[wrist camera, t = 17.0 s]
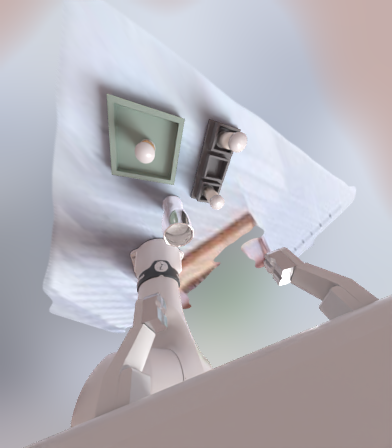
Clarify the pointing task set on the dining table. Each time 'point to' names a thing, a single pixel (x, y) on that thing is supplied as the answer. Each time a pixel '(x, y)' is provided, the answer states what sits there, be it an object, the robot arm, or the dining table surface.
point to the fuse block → (212, 161)
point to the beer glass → (176, 223)
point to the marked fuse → (145, 151)
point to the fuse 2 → (231, 141)
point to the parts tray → (139, 130)
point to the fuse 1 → (212, 197)
